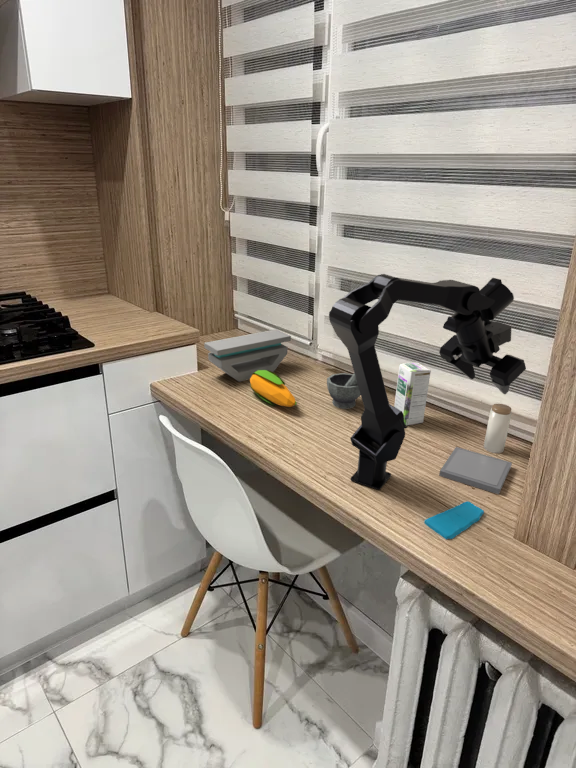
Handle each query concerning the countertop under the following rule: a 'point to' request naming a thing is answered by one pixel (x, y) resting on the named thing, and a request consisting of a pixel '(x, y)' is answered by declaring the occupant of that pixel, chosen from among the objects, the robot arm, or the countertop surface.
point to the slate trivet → (476, 470)
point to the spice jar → (497, 428)
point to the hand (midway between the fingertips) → (489, 385)
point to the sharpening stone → (248, 353)
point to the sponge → (454, 520)
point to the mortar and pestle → (343, 390)
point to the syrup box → (412, 392)
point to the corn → (271, 388)
